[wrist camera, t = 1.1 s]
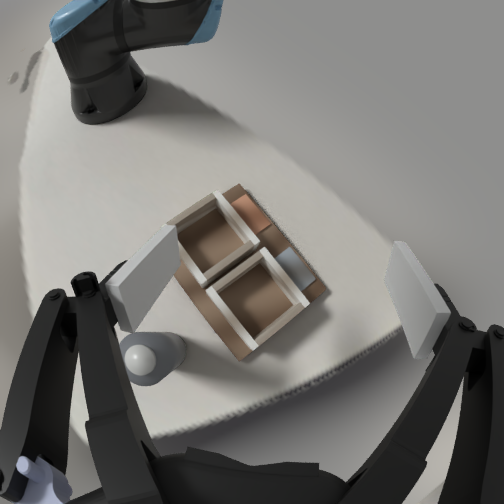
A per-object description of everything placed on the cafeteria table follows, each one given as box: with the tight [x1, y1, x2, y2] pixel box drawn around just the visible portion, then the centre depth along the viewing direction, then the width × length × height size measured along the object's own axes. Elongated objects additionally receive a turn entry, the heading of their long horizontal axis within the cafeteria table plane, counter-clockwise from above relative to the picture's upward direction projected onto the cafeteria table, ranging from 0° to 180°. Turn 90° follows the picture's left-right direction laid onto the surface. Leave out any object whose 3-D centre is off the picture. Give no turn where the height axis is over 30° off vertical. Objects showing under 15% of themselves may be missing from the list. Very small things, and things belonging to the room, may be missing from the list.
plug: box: [119, 332, 186, 386], centre depth 24 cm, size 4×4×13 cm
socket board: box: [161, 184, 326, 361], centre depth 32 cm, size 18×14×4 cm
